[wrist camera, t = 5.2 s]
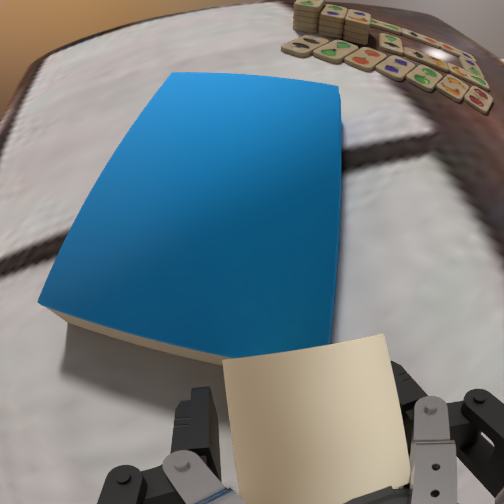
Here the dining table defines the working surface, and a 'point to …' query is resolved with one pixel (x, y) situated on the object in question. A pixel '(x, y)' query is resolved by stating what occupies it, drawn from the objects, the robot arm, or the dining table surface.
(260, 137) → the book
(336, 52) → the pile of dominoes
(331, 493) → the birch block
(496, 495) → the robot arm
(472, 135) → the dining table surface
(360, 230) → the dining table surface
